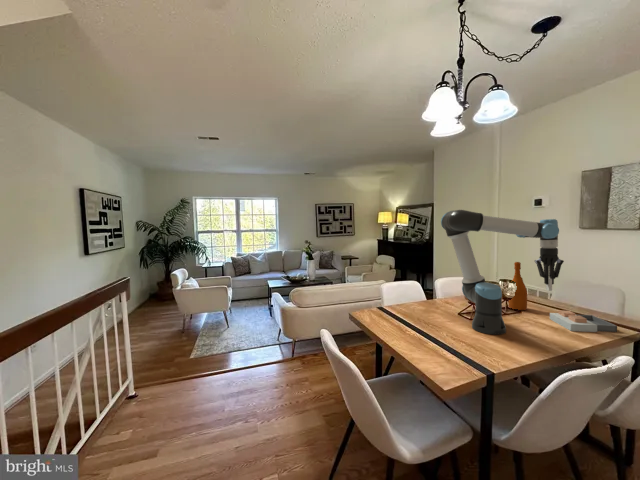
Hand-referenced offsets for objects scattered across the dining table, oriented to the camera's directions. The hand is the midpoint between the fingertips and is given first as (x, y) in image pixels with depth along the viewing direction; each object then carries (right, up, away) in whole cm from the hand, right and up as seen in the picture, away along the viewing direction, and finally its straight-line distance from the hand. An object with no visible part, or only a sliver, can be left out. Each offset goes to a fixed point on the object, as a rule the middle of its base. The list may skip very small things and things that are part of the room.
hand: (549, 290), depth 150 cm
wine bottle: (0, -17, +24) cm, 29 cm away
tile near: (+7, -14, -10) cm, 18 cm away
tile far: (+9, -14, -1) cm, 16 cm away
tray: (+17, -17, -8) cm, 25 cm away
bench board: (+7, -17, -6) cm, 20 cm away
